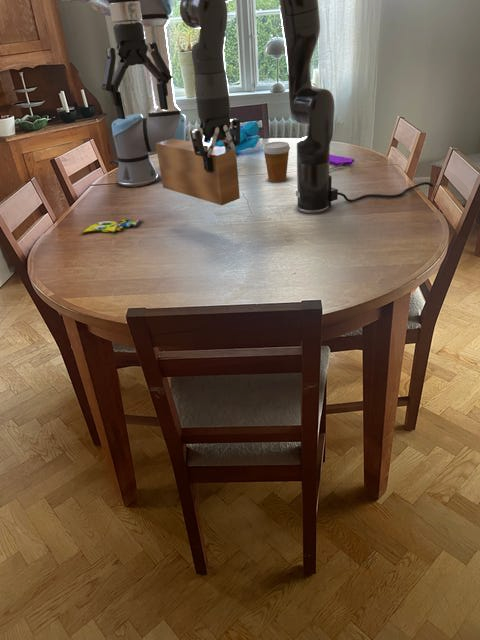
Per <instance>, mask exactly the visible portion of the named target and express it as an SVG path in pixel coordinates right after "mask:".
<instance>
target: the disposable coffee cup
mask: <svg viewBox="0 0 480 640" xmlns="http://www.w3.org/2000/svg"><path fill="white" fill-rule="evenodd" d="M290 149H291V146H290V144H289V142H286V141H272V142H266V143H265V144H263V148H262V151H263V153H264V159H265V165H266V171H267V178H268V182H272V183H273V182H274V183H278V182H279V183H280V182H283V181H286V180H287V174H288V165H289V155H290V154H289V153H290Z"/></svg>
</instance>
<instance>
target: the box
mask: <svg viewBox="0 0 480 640" xmlns="http://www.w3.org/2000/svg"><path fill="white" fill-rule="evenodd" d="M155 144H156V149H157V151H156V154H157V160H158V166H159V172H160V178H161V183H162V188H163V189H166V190H168V191H169V190H170V191H173V192H175V193H176V192H177V193H179V194H183V195H185V196H189V197H192V198H196V199H199V200H203V201H207V202H209V203H213V204H216V205H219V206H224V205H227V204H230V203H232V202H235V201H237V200H240V199H241V195H240V186H239V185H240V184H239V183H240V182H239V171H238V160H237V154H236V150H235V149H229V148H225V147H224V146H222V147H218V146H215V147H214V148H213V150H212V155H211V157H212V163H213V172H212V173H208V172H206V170H205V169H204V163H203V157H202V156H198V155H195V152H194V148H193V143H192V140H191V141H190V140H180V139H174V138H173V139H169V140H166V141H162V142H159V143H155ZM207 149H208V148H207Z"/></svg>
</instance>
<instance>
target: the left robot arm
mask: <svg viewBox="0 0 480 640" xmlns="http://www.w3.org/2000/svg"><path fill="white" fill-rule="evenodd" d="M60 1H61V2H74V1H76V0H60ZM77 1H79V2H81V3H83V4H87V5H89V6H91V8H92V9H93V10H94V11H95V12H97V13H99V14H101V15H104V16H107V17H110V18H111V23H114V25H113V27H112V28H113V34H114V39H115V42H116V48H114V47H106V49H105V53H106V60H105V66H104V71H103V77H102V82H101V90H102V91H105V92H108V93H109V95H110V99H111V104H112V106H113V107H115V110H116V115H117V118H116V119H115V120H113V121H112V122H111V132H112V138H113V142H114V146H115V151H116V156H117V160H118V161H117V160H114V159H112V160H110V161H109V164H110V165H111V164H113V163H115V164H116V165H117V169H118V170H117V183H118V186H120V187H123V188H124V187H125V188H136V187H137V188H138V187H145V186H147V185H148V186H149V185H151V184H154V183H156V182H157V181H158V180H159V176H158V172H157V169H156V168H155V166H154V163H153V161H152V159H151V156H150V153H152V152H153V153H154V152H157V149H156V144H155V143H159V142H162V141H166V140H169V139H173V138H174V139H180V140H185V141H187V139H186V138H187V137H186V136H187V134H186V133H187V121H186V120H187V119H186V115H185V114H183V113H182V112H181V109H180V108H179V107H178V105H177V104H176V100H175V99H176V98H175V92H174V84H173V82H174V81H173V74H172V69H171V67H172V66H171V60H170V53H169V46H168V45H169V44H168V37H167V29H166V27H167V26H168V24H169V22H170V18H169V16H171V15H172V14H173V7H172V1H171V0H77ZM117 56H118V57H119V61H118V63H117V67H116V70H115V66H116V62H117V61H116V59H117ZM136 65H143V66H144V67H145V74H146V80H147V87H148V93H149V94H148V95H149V101H150V106H151V107H150V108H149V110H148V111H147V114H148V117H144V116H143V114H142V113H133V114H129V115H126V114H125V108H124V104H123V99H122V93H121V91H118V90H119V88H120V85H121V83H122V80H123V79H124V76H125V74H126V71H127V69H128V68H129V67H131V66H132V67H133V66H136ZM114 71H115V72H114Z"/></svg>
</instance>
